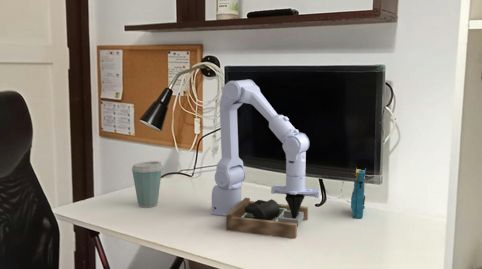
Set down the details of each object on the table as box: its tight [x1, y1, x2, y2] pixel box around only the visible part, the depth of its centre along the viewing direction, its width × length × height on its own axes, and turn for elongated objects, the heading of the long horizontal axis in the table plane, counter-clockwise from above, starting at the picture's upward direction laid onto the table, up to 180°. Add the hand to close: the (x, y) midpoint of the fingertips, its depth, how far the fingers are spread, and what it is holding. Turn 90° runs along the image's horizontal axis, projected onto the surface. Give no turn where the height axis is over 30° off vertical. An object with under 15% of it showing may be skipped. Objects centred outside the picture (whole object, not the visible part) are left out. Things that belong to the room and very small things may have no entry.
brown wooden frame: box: [225, 197, 309, 239], centre depth 156 cm, size 21×18×5 cm
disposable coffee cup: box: [131, 160, 164, 208], centre depth 175 cm, size 11×11×15 cm
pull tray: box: [242, 208, 304, 228], centre depth 156 cm, size 17×14×4 cm
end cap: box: [245, 198, 280, 221], centre depth 157 cm, size 10×7×7 cm
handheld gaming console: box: [350, 168, 366, 220], centre depth 165 cm, size 10×4×15 cm, turn 164°
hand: (294, 218), depth 153 cm, fingers closed
